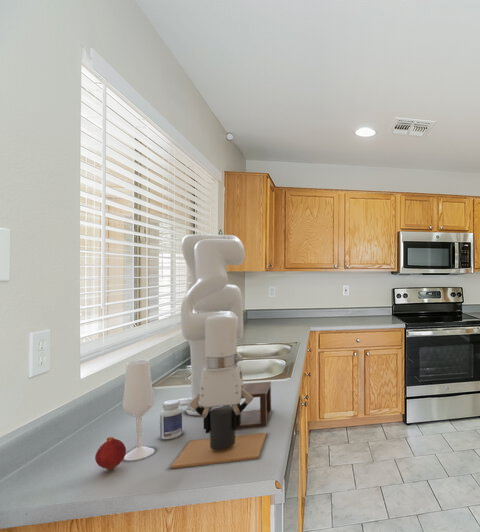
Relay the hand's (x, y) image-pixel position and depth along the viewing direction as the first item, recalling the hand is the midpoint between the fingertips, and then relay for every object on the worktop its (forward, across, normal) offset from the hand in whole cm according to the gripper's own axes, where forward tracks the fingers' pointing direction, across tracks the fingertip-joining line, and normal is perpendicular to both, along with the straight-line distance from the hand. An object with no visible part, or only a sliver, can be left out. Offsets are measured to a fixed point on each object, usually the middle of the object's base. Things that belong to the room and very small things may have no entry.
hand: (222, 429), depth 98 cm
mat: (+6, 0, 0) cm, 6 cm away
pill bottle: (+6, +17, -13) cm, 22 cm away
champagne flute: (+6, +21, -3) cm, 22 cm away
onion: (+6, +24, +4) cm, 25 cm away
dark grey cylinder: (+4, 0, 0) cm, 4 cm away
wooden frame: (+5, -3, -19) cm, 20 cm away
